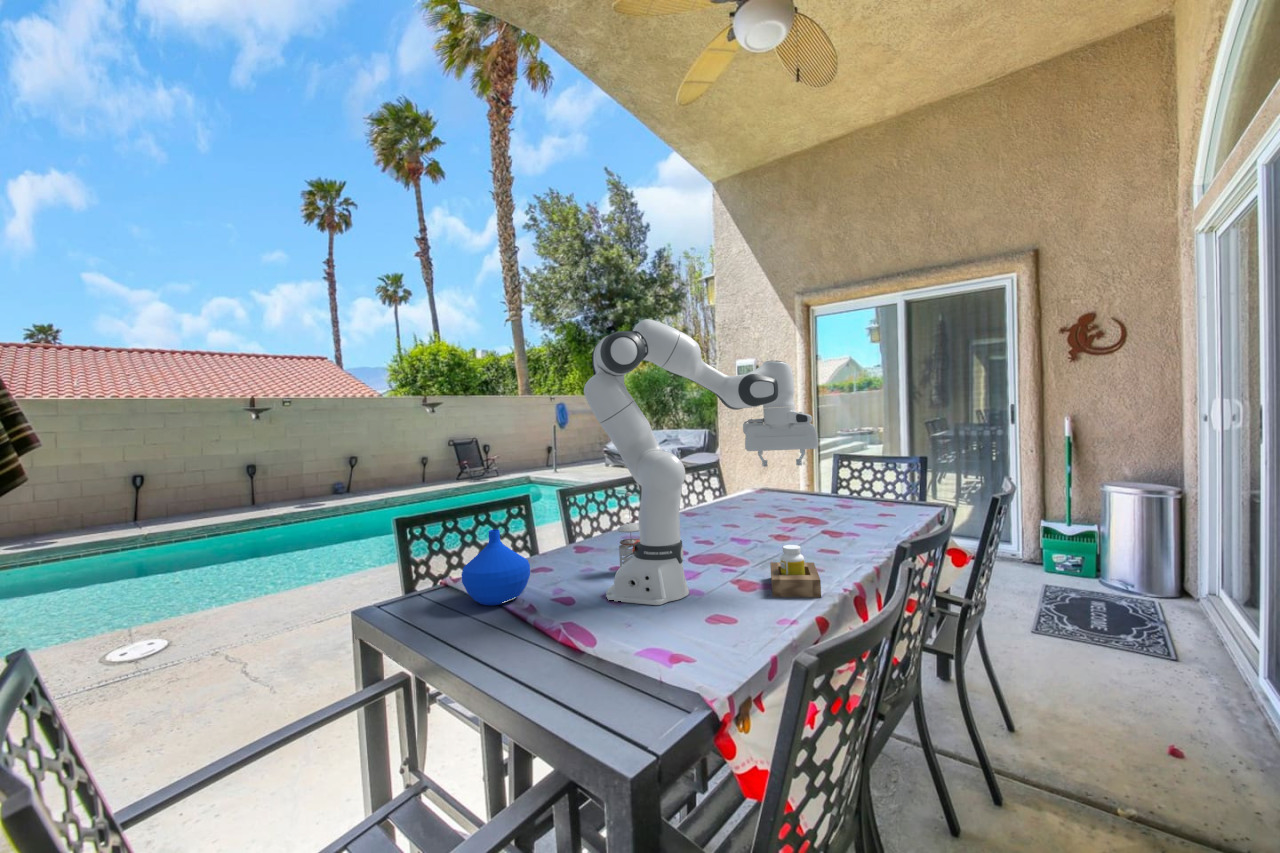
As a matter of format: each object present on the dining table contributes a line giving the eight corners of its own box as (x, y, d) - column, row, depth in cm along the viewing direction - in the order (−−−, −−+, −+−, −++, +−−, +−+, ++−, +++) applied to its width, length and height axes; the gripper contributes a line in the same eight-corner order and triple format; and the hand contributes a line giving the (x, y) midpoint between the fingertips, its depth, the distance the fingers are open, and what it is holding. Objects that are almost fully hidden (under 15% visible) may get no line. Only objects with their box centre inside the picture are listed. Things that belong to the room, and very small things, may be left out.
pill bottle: (809, 586, 148) (807, 545, 148) (798, 592, 143) (796, 550, 143) (788, 582, 152) (787, 542, 152) (777, 588, 148) (775, 547, 147)
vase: (541, 588, 158) (537, 523, 158) (516, 611, 140) (511, 537, 140) (482, 588, 161) (478, 524, 161) (450, 611, 143) (445, 538, 143)
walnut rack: (772, 596, 141) (771, 579, 141) (771, 577, 157) (770, 562, 157) (821, 597, 139) (820, 579, 139) (814, 578, 154) (813, 562, 154)
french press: (616, 569, 175) (611, 491, 174) (651, 566, 176) (647, 488, 175) (618, 578, 165) (613, 495, 164) (656, 574, 166) (651, 492, 165)
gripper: (742, 419, 155) (744, 468, 155) (817, 416, 151) (819, 466, 151) (743, 419, 161) (745, 465, 162) (815, 415, 157) (817, 463, 157)
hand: (781, 465), depth 156 cm, fingers open, 8 cm apart
